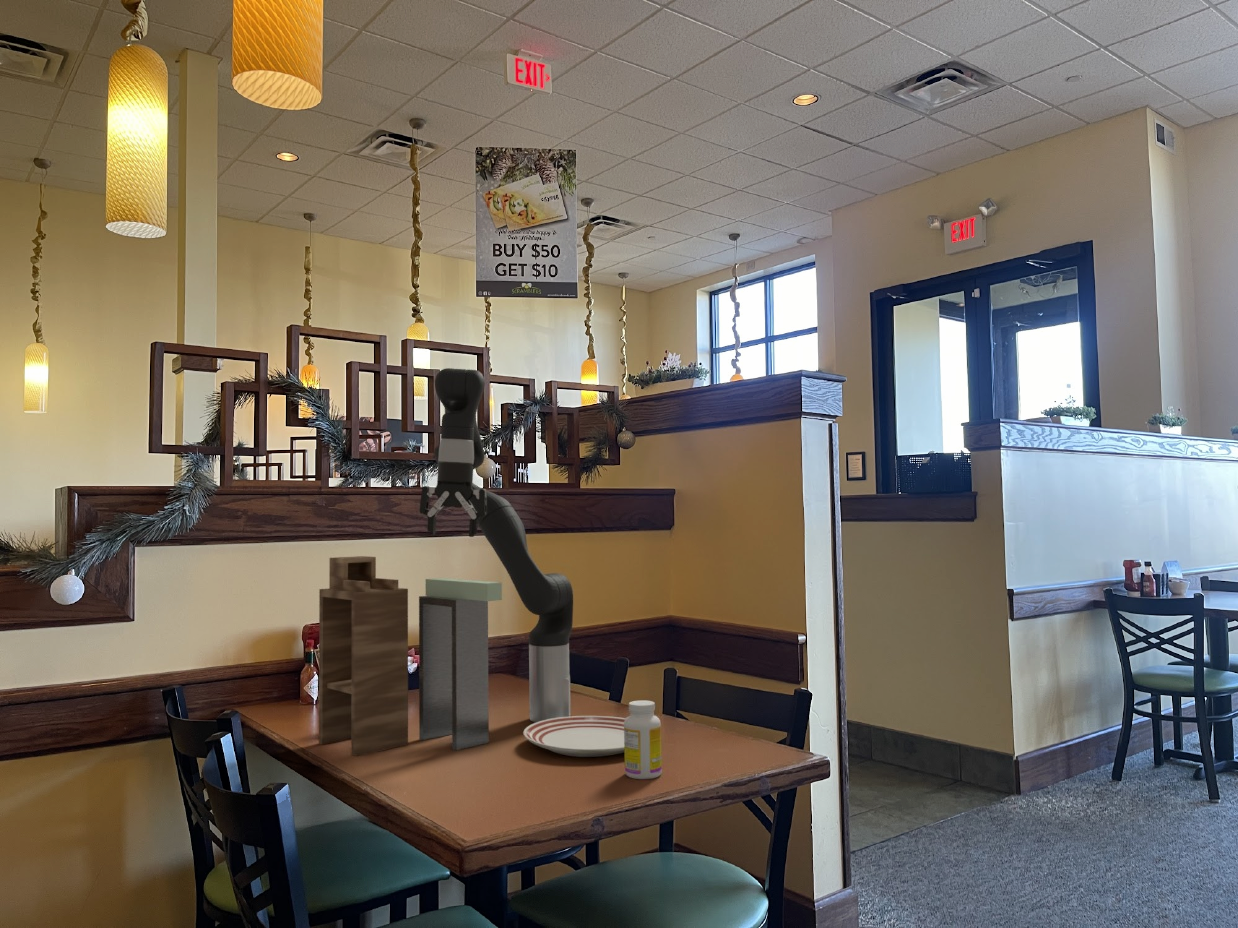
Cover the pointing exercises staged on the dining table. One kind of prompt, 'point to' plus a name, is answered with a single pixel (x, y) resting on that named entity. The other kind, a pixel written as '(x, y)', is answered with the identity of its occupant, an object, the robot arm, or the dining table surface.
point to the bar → (464, 589)
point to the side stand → (453, 670)
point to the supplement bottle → (642, 741)
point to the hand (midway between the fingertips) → (452, 535)
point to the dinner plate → (579, 735)
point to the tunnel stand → (363, 658)
